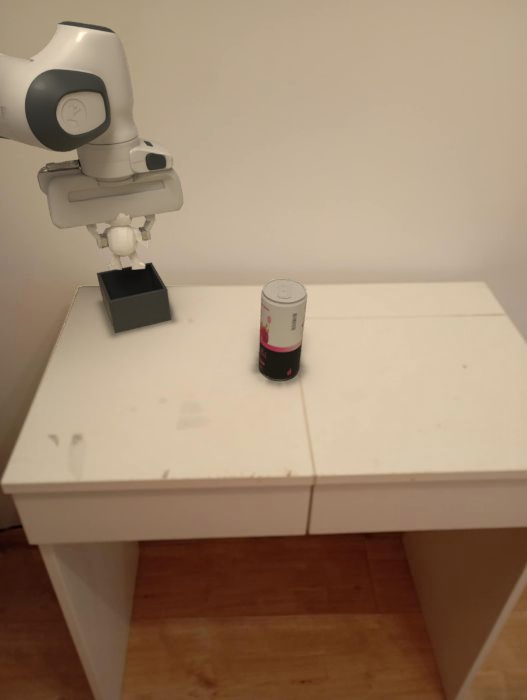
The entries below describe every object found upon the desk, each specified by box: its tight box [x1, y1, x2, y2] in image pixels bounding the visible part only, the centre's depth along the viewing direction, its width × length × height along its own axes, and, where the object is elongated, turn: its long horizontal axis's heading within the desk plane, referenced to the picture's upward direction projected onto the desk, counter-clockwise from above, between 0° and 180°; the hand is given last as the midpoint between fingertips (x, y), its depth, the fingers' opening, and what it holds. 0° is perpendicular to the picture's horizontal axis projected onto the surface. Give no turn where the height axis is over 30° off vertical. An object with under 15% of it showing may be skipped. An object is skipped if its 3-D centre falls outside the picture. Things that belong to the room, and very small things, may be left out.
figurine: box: [101, 213, 150, 270], centre depth 76 cm, size 8×5×12 cm, turn 93°
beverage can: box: [258, 277, 308, 381], centre depth 71 cm, size 7×7×15 cm
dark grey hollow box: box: [96, 262, 172, 334], centre depth 84 cm, size 10×10×6 cm
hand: (124, 242), depth 77 cm, fingers closed on figurine, 5 cm apart
